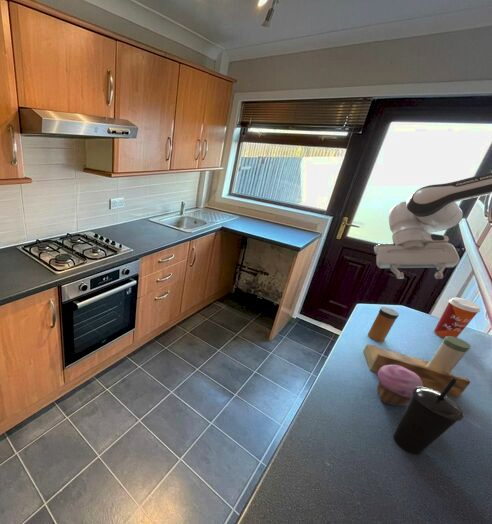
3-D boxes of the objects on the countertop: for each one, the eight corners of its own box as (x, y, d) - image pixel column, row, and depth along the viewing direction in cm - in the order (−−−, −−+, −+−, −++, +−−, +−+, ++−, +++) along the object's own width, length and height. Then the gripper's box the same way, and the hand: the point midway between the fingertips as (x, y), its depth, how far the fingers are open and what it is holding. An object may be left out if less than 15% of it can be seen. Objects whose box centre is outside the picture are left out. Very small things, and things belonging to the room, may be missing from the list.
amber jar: (382, 335, 98) (396, 309, 94) (386, 343, 94) (401, 317, 90) (365, 331, 100) (379, 305, 95) (369, 339, 96) (383, 312, 91)
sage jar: (443, 368, 81) (464, 339, 76) (451, 380, 77) (474, 350, 72) (422, 362, 83) (442, 333, 78) (429, 374, 79) (450, 344, 74)
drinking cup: (387, 420, 68) (429, 359, 59) (429, 444, 63) (481, 381, 55) (382, 442, 63) (427, 378, 54) (428, 469, 58) (485, 404, 50)
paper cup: (440, 340, 98) (463, 307, 92) (424, 326, 105) (444, 295, 99) (466, 343, 97) (490, 310, 91) (448, 329, 104) (469, 298, 98)
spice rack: (442, 374, 83) (453, 359, 81) (458, 397, 76) (470, 382, 73) (363, 351, 90) (370, 336, 88) (370, 370, 83) (378, 355, 80)
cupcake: (365, 380, 79) (380, 353, 75) (403, 393, 76) (421, 366, 72) (372, 405, 72) (390, 377, 68) (415, 420, 69) (436, 391, 64)
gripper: (374, 239, 100) (381, 273, 94) (454, 235, 91) (467, 273, 85) (371, 249, 105) (377, 282, 99) (446, 246, 96) (458, 282, 89)
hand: (419, 278), depth 92 cm, fingers open, 8 cm apart
